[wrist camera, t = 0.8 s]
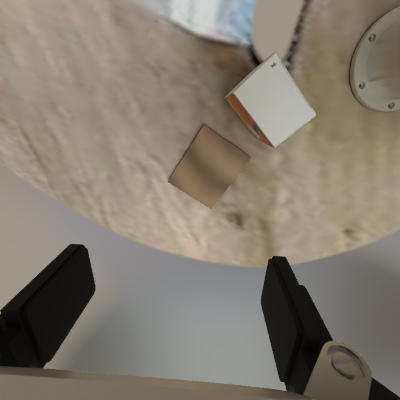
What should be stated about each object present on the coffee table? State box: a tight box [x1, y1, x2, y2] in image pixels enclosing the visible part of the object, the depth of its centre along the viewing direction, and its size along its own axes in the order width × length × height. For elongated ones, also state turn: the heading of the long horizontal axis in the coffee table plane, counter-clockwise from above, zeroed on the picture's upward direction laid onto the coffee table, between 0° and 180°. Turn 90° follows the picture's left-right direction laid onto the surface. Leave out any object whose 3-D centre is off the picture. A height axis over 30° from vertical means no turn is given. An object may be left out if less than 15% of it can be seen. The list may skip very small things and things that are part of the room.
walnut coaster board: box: [168, 124, 251, 209], centre depth 36 cm, size 11×9×1 cm
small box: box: [224, 52, 316, 148], centre depth 27 cm, size 8×6×10 cm
